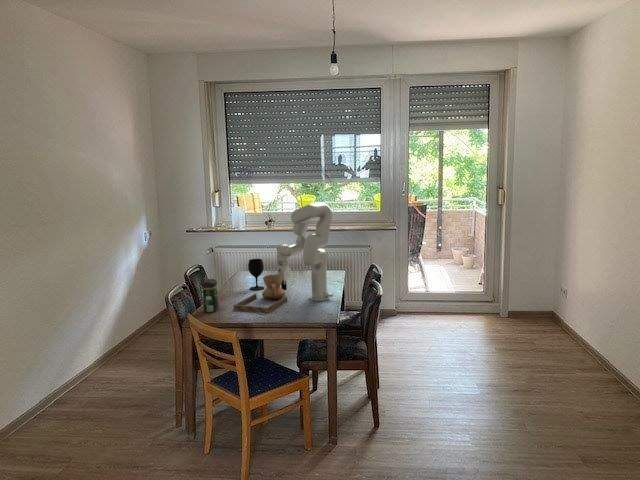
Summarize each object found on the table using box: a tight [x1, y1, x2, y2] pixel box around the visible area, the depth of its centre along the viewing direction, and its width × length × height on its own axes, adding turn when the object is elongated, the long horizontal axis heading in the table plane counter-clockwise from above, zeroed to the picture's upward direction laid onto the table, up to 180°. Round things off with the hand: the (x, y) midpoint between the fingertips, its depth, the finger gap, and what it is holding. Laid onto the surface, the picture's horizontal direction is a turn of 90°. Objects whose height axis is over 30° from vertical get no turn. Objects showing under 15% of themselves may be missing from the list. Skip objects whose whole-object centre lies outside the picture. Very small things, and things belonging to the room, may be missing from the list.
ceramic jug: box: [261, 273, 286, 301], centre depth 315 cm, size 18×14×14 cm
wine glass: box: [247, 258, 265, 292], centre depth 339 cm, size 10×10×20 cm
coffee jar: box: [201, 278, 220, 313], centre depth 292 cm, size 10×8×19 cm
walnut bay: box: [233, 293, 288, 314], centre depth 300 cm, size 23×25×3 cm
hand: (284, 289), depth 329 cm, fingers closed
